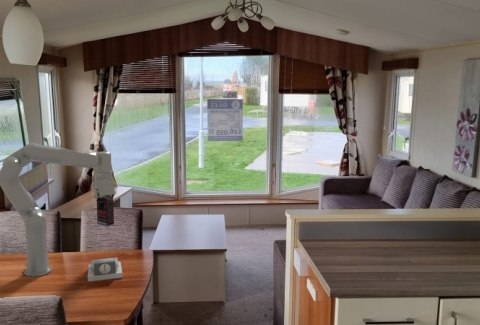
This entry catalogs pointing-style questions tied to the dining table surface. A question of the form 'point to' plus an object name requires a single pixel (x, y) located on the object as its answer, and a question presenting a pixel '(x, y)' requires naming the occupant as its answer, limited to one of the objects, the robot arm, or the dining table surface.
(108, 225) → the supplement box
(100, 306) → the dining table surface
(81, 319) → the dining table surface
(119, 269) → the scale base
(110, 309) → the dining table surface
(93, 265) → the pan
